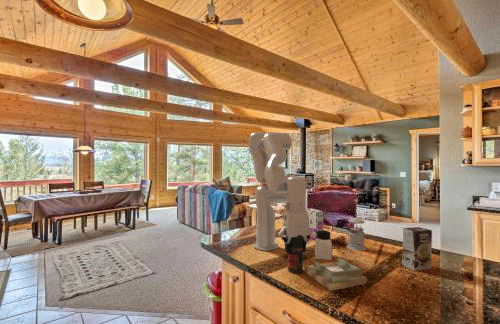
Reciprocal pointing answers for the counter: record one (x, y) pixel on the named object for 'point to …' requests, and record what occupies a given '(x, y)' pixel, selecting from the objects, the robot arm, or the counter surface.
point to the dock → (336, 274)
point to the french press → (356, 234)
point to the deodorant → (296, 255)
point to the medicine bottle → (323, 245)
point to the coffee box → (417, 248)
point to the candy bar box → (315, 221)
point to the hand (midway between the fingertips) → (295, 251)
